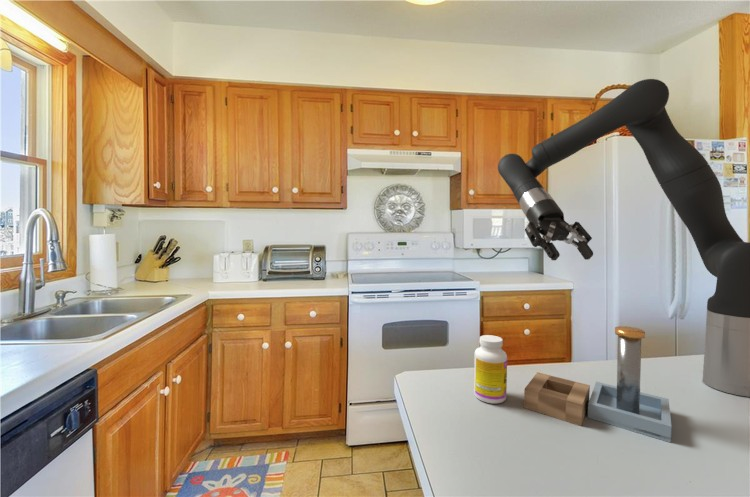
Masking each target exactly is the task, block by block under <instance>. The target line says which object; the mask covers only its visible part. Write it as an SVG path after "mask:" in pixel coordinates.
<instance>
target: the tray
mask: <svg viewBox="0 0 750 497" xmlns="http://www.w3.org/2000/svg"><path fill="white" fill-rule="evenodd" d="M616 401H617V385H613V384H609V383H604V382H600V381H595V383H594V386H593V389H592V393H591V395H590V396H589V403H588V409H587V418H588V419H590V420H594V421H597V422H601V423H604V424H608V425H610V426H611V425H612V426H614V427H618V428H621V429H624V430H628V431H631V432H635V433H637V434H640V435H645V436H647V437H651V438H655V439H657V440H661V441H664V442H668V443H669V444H670V443H671V442H672V419H671V407H670V400H669V398H666V397H663V396H659V395H658V396H657V395H654V394H649V393H645V392H641V391H640V411H639V415H638V414H635V413H631V412H628V411H624V410H620V409H617V408H616Z"/></svg>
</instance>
